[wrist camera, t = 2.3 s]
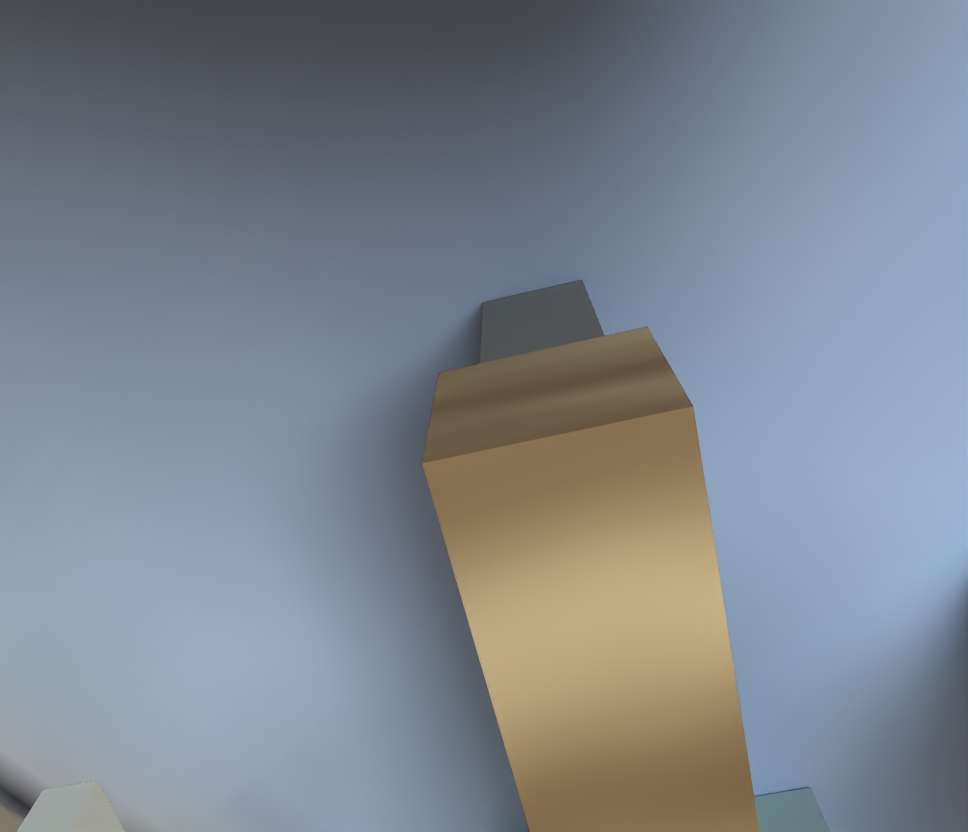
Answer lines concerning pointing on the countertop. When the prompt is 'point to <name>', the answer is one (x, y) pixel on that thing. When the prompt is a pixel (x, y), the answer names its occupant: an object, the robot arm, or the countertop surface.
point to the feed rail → (537, 321)
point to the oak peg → (593, 586)
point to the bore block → (789, 812)
